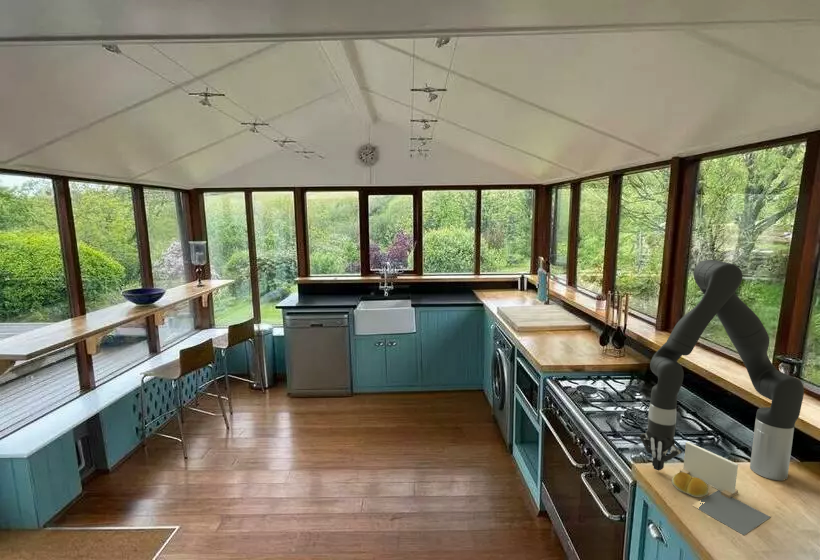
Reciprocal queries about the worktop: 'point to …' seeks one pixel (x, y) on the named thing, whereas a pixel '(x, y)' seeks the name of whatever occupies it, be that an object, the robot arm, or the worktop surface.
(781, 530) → the worktop surface
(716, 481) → the screen
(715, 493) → the mat
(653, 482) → the worktop surface
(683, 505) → the worktop surface
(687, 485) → the bread roll
